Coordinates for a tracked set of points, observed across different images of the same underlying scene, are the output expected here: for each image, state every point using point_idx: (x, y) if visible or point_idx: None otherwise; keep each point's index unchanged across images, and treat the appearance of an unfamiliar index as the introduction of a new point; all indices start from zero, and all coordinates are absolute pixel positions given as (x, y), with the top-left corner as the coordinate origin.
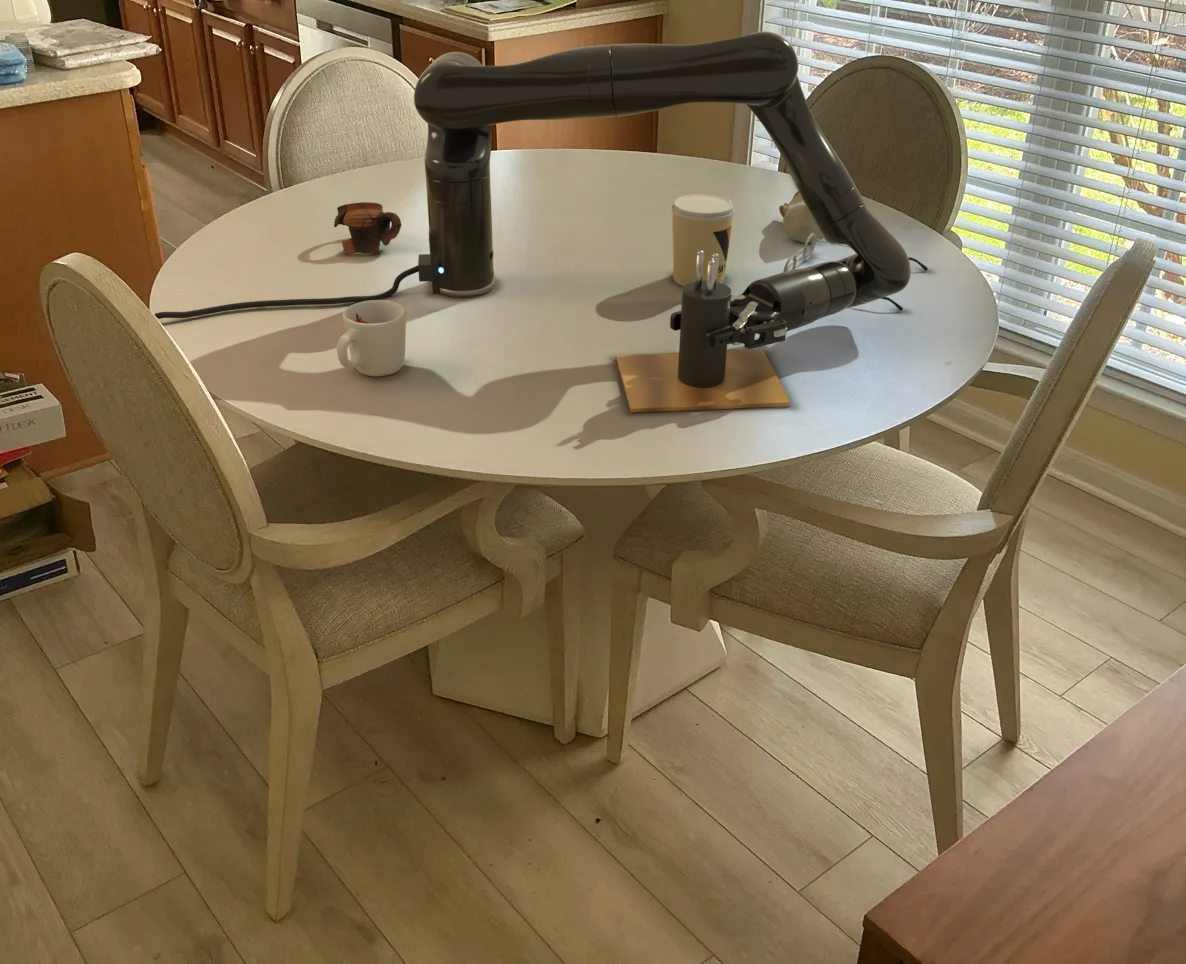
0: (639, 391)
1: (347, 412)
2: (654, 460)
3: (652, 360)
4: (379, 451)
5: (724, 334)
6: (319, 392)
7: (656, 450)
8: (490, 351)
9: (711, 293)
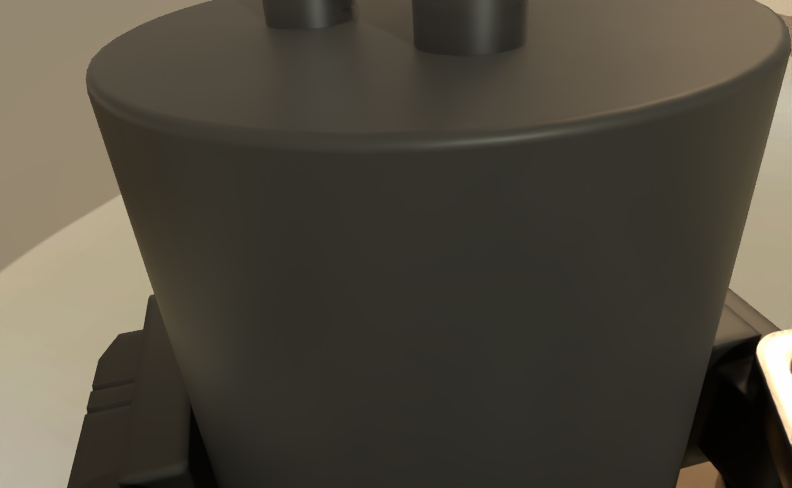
0: None
1: None
2: (28, 300)
3: (713, 478)
4: None
5: (107, 410)
6: None
7: (63, 316)
8: (781, 159)
9: (262, 3)
